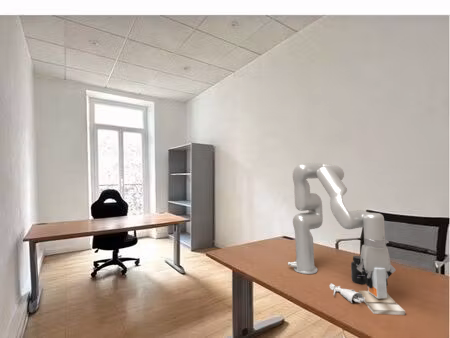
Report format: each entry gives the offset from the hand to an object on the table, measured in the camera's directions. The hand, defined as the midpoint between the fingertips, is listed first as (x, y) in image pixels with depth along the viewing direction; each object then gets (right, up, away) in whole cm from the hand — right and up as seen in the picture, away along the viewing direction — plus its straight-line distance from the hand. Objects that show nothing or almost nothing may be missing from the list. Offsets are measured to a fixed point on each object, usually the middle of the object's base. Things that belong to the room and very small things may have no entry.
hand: (376, 286), depth 101 cm
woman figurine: (-11, -7, +4) cm, 14 cm away
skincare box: (0, -4, 0) cm, 4 cm away
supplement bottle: (+3, -7, +18) cm, 19 cm away
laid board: (-1, -6, -8) cm, 9 cm away
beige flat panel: (0, -5, 0) cm, 5 cm away
